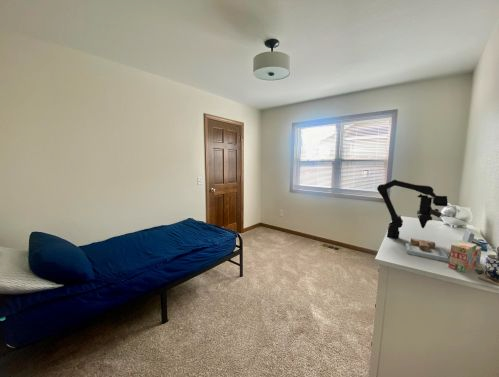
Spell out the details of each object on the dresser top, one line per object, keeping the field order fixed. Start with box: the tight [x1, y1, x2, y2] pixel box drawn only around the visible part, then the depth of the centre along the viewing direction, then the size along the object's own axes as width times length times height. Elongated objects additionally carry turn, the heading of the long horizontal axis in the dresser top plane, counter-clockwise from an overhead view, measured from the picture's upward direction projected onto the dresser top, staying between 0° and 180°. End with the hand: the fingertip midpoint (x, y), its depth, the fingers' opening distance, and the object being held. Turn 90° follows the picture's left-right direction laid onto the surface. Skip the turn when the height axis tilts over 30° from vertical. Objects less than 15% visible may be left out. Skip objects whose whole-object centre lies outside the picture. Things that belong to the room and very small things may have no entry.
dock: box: [405, 242, 450, 263], centre depth 123 cm, size 18×14×2 cm
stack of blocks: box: [447, 240, 482, 273], centre depth 109 cm, size 21×6×12 cm, turn 119°
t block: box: [409, 237, 436, 252], centre depth 132 cm, size 12×12×3 cm
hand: (422, 227), depth 141 cm, fingers open, 3 cm apart
